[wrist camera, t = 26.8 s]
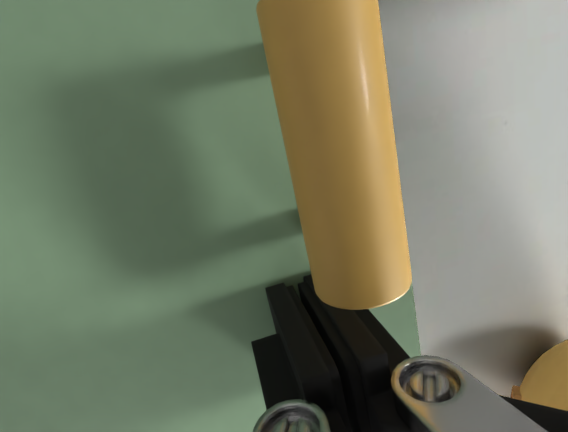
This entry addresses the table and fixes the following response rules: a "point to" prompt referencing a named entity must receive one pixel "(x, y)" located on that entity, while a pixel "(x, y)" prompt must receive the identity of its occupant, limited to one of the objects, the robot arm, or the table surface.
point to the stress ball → (546, 379)
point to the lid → (185, 201)
